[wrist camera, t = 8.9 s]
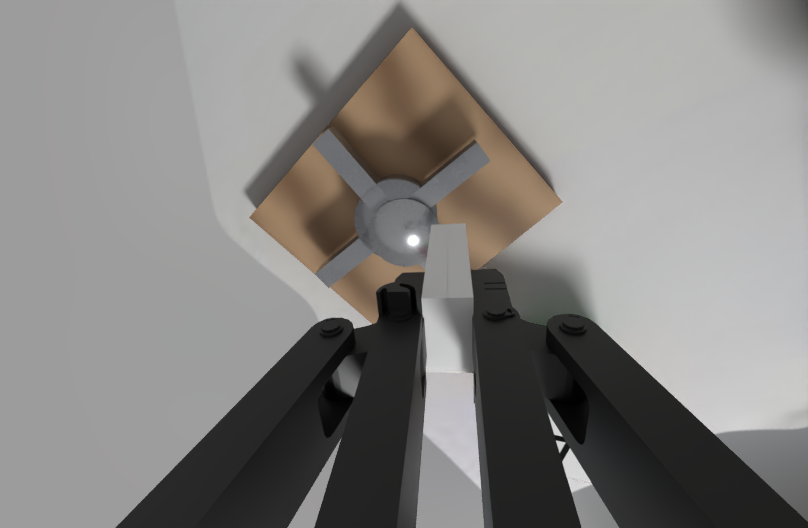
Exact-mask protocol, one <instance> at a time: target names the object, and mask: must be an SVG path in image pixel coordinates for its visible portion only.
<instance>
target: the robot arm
mask: <svg viewBox="0 0 808 528" xmlns="http://www.w3.org/2000/svg"><path fill="white" fill-rule="evenodd" d="M376 298H377V306H378V314H379V317H378V320H377V322H376V323H374V324H372V325H369V326H365V327H361V328H356V329H354V328H353V324H352V322H350V321H349V320H347V319H344V318H329V319H325V320H323V321H321V322H318V323H317V324H315V325H314V326H313V327H311V328H310V329H309V330H308V332H307V333H306V334H305V335H304V336H303V337H302V338H301V339H300V340H299V341H298V342H297V343H296V344H295V345H294V346H293V347H292V348H291V349H290V350H289V351H288V352H287V353H286V354H285V355H284V356H283V357H282V358H281V359H280V360H279V361H278V362H277V363H276V364H275V365H274V366H273V367H272V368H271V369H270V370H269V371H268V372H267V373H266V374H265V375H264V377H263V378H262V379H261V380H260V381H259V382H258V383H257V384H256V385H255V386H254V387H253V388H252V389H251V390H250V391H249V392H248V393H247V394H246V395H245V396H244V397H243V398H242V399H241V400H240V401H239V402H238V403H237V404H236V405H235V406H234V407H233V408H232V409H231V410H230V411H229V412H228V413H227V415H225V417H223V418H222V419H221V420H220V421H219V422H218V424H217V425H216V426H215V427H214V428H213V429H212V430H211V431H210V432H209V433H208V434H207V435H206V436H205V437H204V438H203V439H202V440H201V441H200V442H199V443H198V444H197V445H196V446H195V447H194V448H193V449H192V450H191V451H190V452H189V453H188V454H187V455H186V456H185V457H184V458H183V459H182V460H181V461H180V462H179V463H178V465H176V466H175V467H174V469H173V470H172V471H171V472H170V473H169V474H168V475H167V476H166V477H165V478H164V479H163V480H162V481H161V482H160V483H159V484H158V485H157V486H156V487H155V488H154V489H153V490H152V491H151V492H150V493H149V494H148V495H147V496H146V497H145V498H144V499H143V500H142V501H141V502H140V503H139V504H138V505H137V506H136V507H135V508H134V510H132V511H131V512H130V513H129V515H128V516H127V517H126V518H125V519H124V520H123V521H122V522H121V523H120V524H119V525H118V526H117V527H116V528H287V527H288V526H289V524H290V522H291V521H292V519H293V517H294V516H295V514H296V512H297V511H298V509H299V507H300V506H301V504H302V502H303V501H304V499H305V497H306V495H307V494H308V492H309V491H310V489H311V487H312V486H313V484H314V482H315V480H316V479H317V477H318V476H319V473H320V472H321V471H322V469H323V467H324V465H325V464H326V462H327V461H328V459H329V457H330V455H331V454H332V452H333V450H334V449H335V447H336V445H337V444H338V442H339V441H340V439H341V437H342V439H341V442H340V445H339V448H338V452H337V455H336V458H335V462H334V465H333V468H332V472H331V475H330V478H329V481H328V485H327V488H326V492H325V495H324V498H323V501H322V504H321V508H320V511H319V514H318V518H317V521H316V524H315V527H314V528H416V517H417V503H418V490H419V476H420V463H421V450H422V436H423V424H424V410H425V397H426V384H427V383H426V371H427V372H441V373H474V403H475V408H476V422H477V435H478V449H479V462H480V476H481V489H482V503H483V517H484V528H581V525H580V521H579V518H578V515H577V511H576V508H575V504H574V501H573V497H572V494H571V490H570V487H569V483H568V480H567V477H566V473H565V470H564V466H563V463H562V460H561V456H560V453H559V449H558V446H557V442H556V439H555V436H554V432H553V429H552V425H551V422H550V419H549V415H550V417H551V418H552V420H553V422H554V423H555V425H556V426H557V428H558V430H559V431H560V433H561V434H562V436H563V438H564V439H565V441H566V442H567V444H568V446H569V447H570V449H571V451H572V452H573V454H574V455H575V457H576V459H577V460H578V462H579V463H580V465H581V467H582V468H583V470H584V471H585V473H586V475H587V476H588V478H589V479H590V481H591V483H592V484H593V486H594V487H595V489H596V491H597V492H598V494H599V495H600V497H601V499H602V500H603V502H604V503H605V505H606V507H607V508H608V510H609V512H610V513H611V515H612V516H613V518H614V520H615V521H616V523H617V524H618V526H619V528H808V522H807V521H806V520H805V519H804V518H803V517H802V516H801V515H800V514H799V513H798V512H797V511H796V510H795V509H793V508H792V507H791V506H790V505H789V504H788V503H787V502H786V501H785V500H784V499H783V498H782V497H781V496H780V495H778V494H777V493H776V492H775V491H774V490H773V489H772V488H771V487H770V486H769V485H768V484H767V483H766V482H765V481H763V480H762V479H761V478H760V477H759V476H758V475H757V474H756V473H755V472H754V471H753V470H752V469H751V468H750V467H749V466H747V465H746V464H745V463H744V462H743V461H742V460H741V459H740V458H739V457H738V456H737V455H736V454H735V453H734V452H733V451H731V450H730V449H729V448H728V447H727V446H726V445H725V444H724V443H723V442H722V441H721V440H720V439H719V438H718V437H716V436H715V435H714V434H713V433H712V432H711V431H710V430H709V429H708V428H707V427H706V426H705V425H704V424H703V423H702V422H700V421H699V420H698V419H697V418H696V417H695V416H694V415H693V414H692V413H691V412H690V411H689V410H688V409H687V408H685V407H684V406H683V405H682V404H681V403H680V402H679V401H678V400H677V399H676V398H675V397H674V396H673V395H672V394H670V393H669V392H668V391H667V390H666V389H665V388H664V387H663V386H662V385H661V384H660V383H659V382H658V381H657V380H656V379H654V378H653V377H652V376H651V375H650V374H649V373H648V372H647V371H646V370H645V369H644V368H643V367H642V366H641V365H639V364H638V363H637V362H636V361H635V360H634V359H633V358H632V357H631V356H630V355H629V354H628V353H627V352H626V351H625V350H623V349H622V348H621V347H620V346H619V345H618V344H617V343H616V342H615V341H614V340H613V339H612V338H611V337H610V336H608V335H607V334H606V333H605V332H604V331H603V330H602V329H601V328H600V327H599V326H598V325H597V324H596V323H594V322H593V321H591V320H590V319H587V318H585V317H582V316H579V315H574V314H560V315H557V316H553V317H552V318H551V319H549V320H548V323H547V326H543V325H537V324H533V323H529V322H526V321H524V320H522V319H520V316H519V313H518V312H517V310H516V309H514V308H513V307H512V305H511V302H510V298H509V294H508V291H507V287H506V284H505V280H504V276H503V275H502V274H501V273H500V272H499V271H497V270H496V269H485V270H470V261H469V252H468V243H467V234H466V224H465V223H462V224H438V225H431V231H430V238H429V245H428V253H427V260H426V268H425V272H406V273H401V274H400V275H399V276H398V277H397V278H396V279H395V282H392V283H389V284H385V285H383V286H382V287H380V288H379V289H378V290H377V291H376ZM548 414H549V415H548Z"/></svg>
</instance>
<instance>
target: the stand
mask: <svg viewBox="0 0 808 528" xmlns="http://www.w3.org/2000/svg"><path fill="white" fill-rule="evenodd" d="M333 126H335V127H336V129H337V130H338V131H339V132H340V133H341V134H342V135H343V137H344V138H345V139H346V140H347V141H348V142H349V144H350V145H351V146H352V147H353V148H354V149H355V151H356V152H357V153H358V154H359V155H360V156H361V158H362V159H363V160H364V161H365V162H366V163H367V165H368V166H369V167H370V168H371V169H372V170H373V172H374V173H375V174H376V175H377V176H378V177H379V179H380V178H382V177H384V176H388V175H393V174H402V175H408V176H411V177H413V178H416V179H417V180H419V181H421V182H423V181H424V180H425V179H426V178H428V177H429V176H430V175H431V174H433V173H434V172H435V171H436V170H437V169H439V168H440V167H441V166H442V165H444V164H445V163H446V162H447V161H448V160H450V159H451V158H452V157H453V156H455V155H456V154H457V153H458V152H459V151H461V150H462V149H463V148H464V147H465V146H467V145H468V144H469V143H470V142H472V141H473V140H474V139H475V140H476V141H477V143H478V144H479V145H480V147H481V148H482V149H483V151H484V152H485V153H486V155H487V156H488V158H489V159H490V160H491V161H490V162H489V163H487V164H486V165H485V166H484V167H482V168H481V169H480V170H479V171H477V172H476V173H475V174H473V175H472V176H471V177H470V178H468V179H467V180H466V181H465V182H463V183H462V184H461V185H459V186H458V187H457V188H456V189H454V190H453V191H452V192H450V193H449V194H448V195H447V196H445V197H444V198H443V199H442V200H440V201H439V202H438V203H436V205H437V219H438V222H439V224H462V223H465V224H466V234H467V243H468V252H469V261H470V270H478V269H479V268H481V267H482V266H483V265H484V264H486V263H487V262H488V261H489V260H491V259H492V258H493V257H494V256H496V255H497V254H498V253H499V252H501V251H502V250H503V249H504V248H506V247H507V246H508V245H509V244H511V243H512V242H513V241H514V240H516V239H517V238H518V237H519V236H521V235H522V234H523V233H524V232H526V231H527V230H528V229H529V228H531V227H532V226H533V225H534V224H536V223H537V222H538V221H540V220H541V219H542V218H543V217H545V216H546V215H547V214H548V213H550V212H551V211H552V210H553V209H555V208H556V207H557V206H558V205H560V204H561V203H562V201H561V199H560V198H559V197H558V196H557V195H556V194H555V192H554V191H553V190H552V189H551V188H550V187H549V186H548V184H547V183H546V182H545V181H544V180H543V179H542V177H541V176H540V175H539V174H538V173H537V172H536V170H535V169H534V168H533V167H532V166H531V165H530V163H529V162H528V161H527V160H526V159H525V158H524V157H523V155H522V154H521V153H520V152H519V151H518V150H517V148H516V147H515V146H514V145H513V144H512V143H511V141H510V140H509V139H508V138H507V137H506V136H505V135H504V133H503V132H502V131H501V130H500V129H499V128H498V126H497V125H496V124H495V123H494V122H493V121H492V119H491V118H490V117H489V116H488V115H487V114H486V113H485V111H484V110H483V109H482V108H481V107H480V106H479V104H478V103H477V102H476V101H475V100H474V99H473V97H472V96H471V95H470V94H469V93H468V92H467V90H466V89H465V88H464V87H463V86H462V85H461V84H460V82H459V81H458V80H457V79H456V78H455V77H454V75H453V74H452V73H451V72H450V71H449V70H448V68H447V67H446V66H445V65H444V64H443V63H442V62H441V60H440V59H439V58H438V57H437V56H436V55H435V53H434V52H433V51H432V50H431V49H430V48H429V46H428V45H427V44H426V43H425V42H424V41H423V39H422V38H421V37H420V36H419V35H418V34H417V33H416V31H415V30H414V29H413V28H411V29H410V30H409V31H408V32H407V33H406V35H405V36H404V37H403V38H402V39H401V40H400V42H399V43H398V44H397V45H396V46H395V47H394V49H393V50H392V51H391V52H390V53H389V55H388V56H387V57H386V58H385V59H384V60H383V62H382V63H381V64H380V65H379V66H378V67H377V69H376V70H375V71H374V72H373V73H372V74H371V76H370V77H369V78H368V79H367V80H366V81H365V83H364V84H363V85H362V86H361V87H360V88H359V90H358V91H357V92H356V93H355V94H354V95H353V97H352V98H351V99H350V100H349V101H348V103H347V104H346V105H345V106H344V107H343V108H342V110H341V111H340V112H339V113H338V114H337V115H336V117H335V118H334V119H333V120H332V121H331V122H330V124H329V125H328V126H327V127H326V128H325V129H324V131H323V132H322V133H321V134H320V135H319V136H318V138H319V137H320V136H321V135H322V134H323V133H324V132H325V131H326V130H327V129H328V128H331V127H333ZM318 138H317V139H318ZM317 139H316V140H317ZM316 140H315V141H316ZM315 141H314V142H315ZM314 142H313V143H314ZM313 143H312V145H311V146H310V147H309V148H308V149H307V151H306V152H305V153H304V154H303V155H302V156H301V158H300V159H299V160H298V161H297V162H296V163H295V165H294V166H293V167H292V168H291V169H290V170H289V172H288V173H287V174H286V175H285V176H284V177H283V179H282V180H281V181H280V182H279V183H278V184H277V186H276V187H275V188H274V189H273V190H272V191H271V193H270V194H269V195H268V196H267V197H266V199H265V200H264V201H263V202H262V203H261V204H260V206H259V207H258V208H257V209H256V210H255V211H254V213H253V214H252V215H251V216H250V217H249V218H250V219H252V220H253V221H254V222H255V223H256V224H257V225H259V226H260V227H261V228H262V229H263V230H264V231H265V232H267V233H268V234H269V235H270V236H271V237H272V238H274V239H275V240H276V241H277V242H278V243H279V244H281V245H282V246H283V247H284V248H285V249H286V250H287V251H289V252H290V253H291V254H292V255H293V256H294V257H296V258H297V259H298V260H299V261H300V262H301V263H303V264H304V265H305V266H306V267H307V268H308V269H309V270H311V271H312V272H313V273H314V274H315V273H316V272H317V270H318V269H319V267H320V266H321V264H323V263H324V262H325V261H326V260H328V259H329V258H330V257H331V256H332V255H334V254H335V253H336V252H337V251H339V250H340V249H341V248H342V247H343V246H345V245H346V244H347V243H348V242H349V241H351V240H352V239H353V238H354V237H356V236H357V235H358V234H357V231H356V228H355V219H354V217H355V210H356V207H357V204H358V202H359V200H360V199H361V198H360V197H359V196H358V195H357V194H356V193H355V191H354V190H353V189H352V188H351V187H350V186H349V185H348V184H347V182H346V181H345V180H344V179H343V178H342V177H341V176H340V175H339V174H338V172H337V171H336V170H335V169H334V168H333V167H332V166H331V165H330V163H329V162H328V161H327V160H326V159H325V158H324V157H323V156H322V154H321V153H320V152H319V151H318V150H317V149H316V148H315V147H314V146H313ZM406 272H425V270H424V269H423V268H422V266H421V265H420V264H418V265H415V266H408V267H403V266H397V265H393V264H391V263H389V262H387V261H385V260H384V259H382V258H381V257H380V256H378V255H376V254H374V253H373V254H371V255H370V256H369V257H367V258H366V259H365V260H364V261H362V262H361V263H360V264H359V265H357V266H356V267H355V268H353V269H352V270H351V271H350V272H348V273H347V274H346V275H345V276H343V277H342V278H341V279H339V280H338V281H337V282H336V283H334V284H333V285H332V286H330V288H331V289H333V290H334V291H335V292H336V293H337V294H338V295H340V296H341V297H342V298H343V299H344V300H345V301H347V302H348V303H349V304H350V305H351V306H352V307H353V308H355V309H356V310H357V311H358V312H359V313H360V314H362V315H363V316H364V317H365V318H366V319H367V320H369V321H370V322H371V323H372V324H374V323H376V322H377V320H378V317H379V314H378V306H377V298H376V291H377V290H378V289H379V288H380V287H382V286H383V285H385V284H389V283H392V282H395V279H396V278H397V277H398V276H399V275H400V274H401V273H406Z"/></svg>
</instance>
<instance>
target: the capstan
mask: <svg viewBox="0 0 808 528" xmlns="http://www.w3.org/2000/svg"><path fill="white" fill-rule="evenodd" d="M313 146H314V147H315V148H316V149H317V150H318V151H319V152H320V153H321V154H322V156H323V157H324V158H325V159H326V160H327V161H328V162H329V163H330V165H331V166H332V167H333V168H334V169H335V170H336V171H337V172H338V174H339V175H340V176H341V177H342V178H343V179H344V180H345V181H346V182H347V184H348V185H349V186H350V187H351V188H352V189H353V190H354V191H355V193H356V194H357V195H358V196H359V197H360V198H361V199H360V200H359V202H358V204H357V207H356V210H355V217H354V219H355V228H356V231H357V234H358V235H357V236H356V237H354V238H353V239H352V240H351V241H349V242H348V243H347V244H346V245H345V246H343V247H342V248H341V249H340V250H339V251H337V252H336V253H335V254H334V255H332V256H331V257H330V258H329V259H328V260H326V261H325V262H324V263H323V264H321V266H320V267H319V269H318V270H317V272H316V273H315V275H316V276H317V277H318V278H319V279H320V280H321V281H322V282H323V283H324V284H325V285H326V286H327V287H328V288H329V287H330V286H332V285H333V284H334V283H336V282H337V281H338V280H339V279H341V278H342V277H343V276H345V275H346V274H347V273H348V272H350V271H351V270H352V269H353V268H355V267H356V266H357V265H359V264H360V263H361V262H362V261H364V260H365V259H366V258H367V257H369V256H370V255H371V254H373V253H374V254H376V255H378V256H380V257H381V258H382V259H384V260H385V261H387V262H389V263H391V264H393V265H397V266H403V267H408V266H415V265H418V264H420V265H421V266H422V268H423V269H424V270H425V268H426V260H427V253H428V245H429V238H430V231H431V225H438V224H439V222H438V219H437V205H436V203H438V202H439V201H440V200H442V199H443V198H444V197H445V196H447V195H448V194H449V193H450V192H452V191H453V190H454V189H456V188H457V187H458V186H459V185H461V184H462V183H463V182H465V181H466V180H467V179H468V178H470V177H471V176H472V175H473V174H475V173H476V172H477V171H479V170H480V169H481V168H482V167H484V166H485V165H486V164H487V163H489V162H490V161H491V160H490V159H489V158H488V156H487V155H486V153H485V152H484V151H483V149H482V148H481V147H480V145H479V144H478V143H477V141H476V140H475V139H474V140H473V141H472V142H470V143H469V144H468V145H467V146H465V147H464V148H463V149H462V150H461V151H459V152H458V153H457V154H456V155H455V156H453V157H452V158H451V159H450V160H448V161H447V162H446V163H445V164H444V165H442V166H441V167H440V168H439V169H437V170H436V171H435V172H434V173H433V174H431V175H430V176H429V177H428V178H426V179H425V180H424V181H423V182H421V181H419V180H417V179H416V178H413V177H411V176H408V175H402V174H393V175H388V176H384V177H382V178H380V179H379V177H378V176H377V175H376V174H375V173H374V172H373V170H372V169H371V168H370V167H369V166H368V165H367V163H366V162H365V161H364V160H363V159H362V158H361V156H360V155H359V154H358V153H357V152H356V151H355V149H354V148H353V147H352V146H351V145H350V144H349V142H348V141H347V140H346V139H345V138H344V137H343V135H342V134H341V133H340V132H339V131H338V130H337V129H336V127H335V126H333V127H331V128H328V129H327V130H326V131H325V132H324V133H323V134H322V135H321V136H320V137H319V138H318V139H317V140H316V141H315V142H314V143H313Z"/></svg>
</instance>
